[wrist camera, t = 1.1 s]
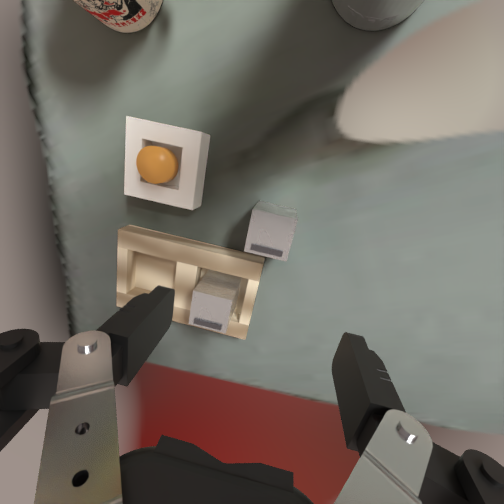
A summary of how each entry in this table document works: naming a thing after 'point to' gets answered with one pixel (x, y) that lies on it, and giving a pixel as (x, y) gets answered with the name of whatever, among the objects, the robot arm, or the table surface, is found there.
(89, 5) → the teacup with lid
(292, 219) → the steel billet
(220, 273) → the block
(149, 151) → the button
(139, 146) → the box
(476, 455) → the robot arm
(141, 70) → the table surface
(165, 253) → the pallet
